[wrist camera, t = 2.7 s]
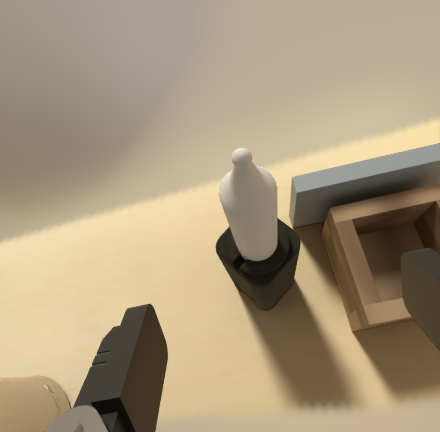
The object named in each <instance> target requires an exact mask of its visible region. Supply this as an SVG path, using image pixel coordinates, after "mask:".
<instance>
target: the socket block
mask: <svg viewBox="0 0 440 432" xmlns="http://www.w3.org/2000/svg"><path fill="white" fill-rule="evenodd" d="M321 235H322V238H323V241H324V244H325V247H326V251H327V254H328V257H329V260H330V263H331V266H332V270H333V273H334V276H335V279H336V282H337V285H338V289H339V292H340V295H341V298H342V301H343V304H344V307H345V311H346V314H347V317H348V320H349V323H350V326H351V330H352V331H357V330H362V329H367V328H372V327H377V326H382V325H388V324H393V323H398V322H403V321H408V320H413V318H412V317H411V315H410V314H409V313H408V311H407V309H406V307H405V304H404V301H403V296H402V277H401V255H402V254H403V253H405V252H410V251H415V250H420V249H425V248H431V249H433V250H434V251H435V252H436V253H438V254H439V255H440V183H439V184H435V185H430V186H426V187H422V188H417V189H413V190H408V191H404V192H399V193H395V194H390V195H386V196H381V197H377V198H372V199H368V200H363V201H359V202H354V203H350V204H345V205H341V206H336V207H332V208H330V209H329V212H328V215H327V218H326V220H325V223H324V226H323V229H322V232H321Z"/></svg>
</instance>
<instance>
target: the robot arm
mask: <svg viewBox="0 0 440 432" xmlns="http://www.w3.org/2000/svg"><path fill="white" fill-rule="evenodd" d="M401 277H402V296H403V301H404V304H405V307H406V309H407V311H408V313H409V314H410V315H411V317H412V318H413V319H414V320H415V322H416V323H417V324H418V325H419V326H420V328H421V329H422V330H423V331H424V333H425V334H426V335H427V336H428V337H429V339H430V340H431V341H432V342H433V343H434V345H435V346H436V347H437V348H438V350H439V351H440V255H439V254H438V253H436V252H435V251H434V250H433V249H431V248H425V249H420V250H415V251H410V252H405V253H403V254H402V255H401ZM167 360H168V351H167V344H166V340H165V337H164V335H163V332H162V329H161V326H160V324H159V321H158V318H157V315H156V313H155V310H154V308H153V306H152V305H151V304H146V305H141V306H136V307H132V308H128V309H127V310H126V312H125V315H124V317H123V320H122V322H121V325H120V326H116V327H113V328H112V329H111V331H110V332H109V333H108V334H107V335H106V336H105V337H104V339H103V340H102V342H101V344H100V347H99V349H98V351H97V355H96V356H95V358H94V361H93V363H92V367H90V370H89V372H88V374H87V377H86V379H85V381H84V383H83V386H82V388H81V390H80V393H79V395H78V397H77V400H76V402H75V404H74V406H73V408H72V409H70V405H69V401H68V398H67V396H66V394H65V392H64V391H63V390H62V388H61V387H60V386H59V385H58V384H57V383H56V382H54V381H53V380H51V379H48V378H46V377H39V376H32V377H17V378H0V432H155V430H156V424H157V418H158V413H159V407H160V401H161V395H162V389H163V384H164V378H165V372H166V366H167Z"/></svg>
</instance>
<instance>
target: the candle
mask: <svg viewBox="0 0 440 432" xmlns="http://www.w3.org/2000/svg"><path fill="white" fill-rule="evenodd" d="M251 160H252V155H251V152H250V151H249V150H248V149H246V148H239V149H237V150H235V151H234V153H233V154H232V162H233V163H234V166H233V169H232V170H231V171H230V172H229V173H227V174H226V176H225V177H224V178H223V180H222V182H221V185H220V191H219V196H220V201H221V204H222V207H223V209H224V212H225V215H226V218H227V220H228V223H229V226H230V227H229V228H228V229H227V230H226V231H225V232H224V233H223V234H222V235H221V236H220V238H219V239H218V241H217V243H216V252H217V254H218V256H219V258H220V260H221V261H222V263H223V265H224V267H225V268H226V270H227V272H228V274H229V275H230V277H231V279H232V281H233V282H234V284H235V286H236V287H237V289H238V290H239V291H240V290H242V291H243V292H244V293H245V294H246V295H247V296H249V297H250V298H251V299H252V300H253V301H254V302H255V303H256V304H257V307H258V308H260V309H262V310H270V309H272V308H273V307H274V306H275V305H276V304H277V303H278V301H279V300H280V299H281V298H282V297H283V295H284V294H285V293H286V292H287V291H288V289H289V288H290V287H291V286H292V284H293V281H294V275H295V270H296V265H297V260H298V255H299V250H300V238H299V236H298V234H297V233H296V232H295V231H294V230H293V229H292V228H290V227H289V226H287V225H286V224H285V223H283V222H282V221H281V220H279V219H278V218H277V185H276V182H275V180H274V178H273V177H272V175H271V174H270V173H269V172H268V171H267V170H266V169H264V168H262V167H260V166H256V165H254V164H253V162H252V161H251Z"/></svg>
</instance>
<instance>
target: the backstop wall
mask: <svg viewBox="0 0 440 432" xmlns="http://www.w3.org/2000/svg"><path fill="white" fill-rule="evenodd" d="M439 183H440V143H438V144H434V145H430V146H425V147H421V148H417V149H412V150H408V151H403V152H399V153H395V154H390V155H386V156H382V157H377V158H373V159H369V160H364V161H360V162H356V163H351V164H347V165H343V166H338V167H334V168H330V169H325V170H321V171H317V172H312V173H308V174H304V175H299V176H295V177H292V185H291V198H290V211H289V217H290V220H291V224H292V227H293V228H296V227H301V226H305V225H310V224H314V223H319V222H323V221H325V220H326V218H327V215H328V212H329V209H330V208H332V207H336V206H341V205H345V204H350V203H354V202H359V201H363V200H368V199H372V198H377V197H381V196H386V195H390V194H395V193H399V192H404V191H408V190H413V189H417V188H422V187H426V186H430V185H435V184H439Z"/></svg>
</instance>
